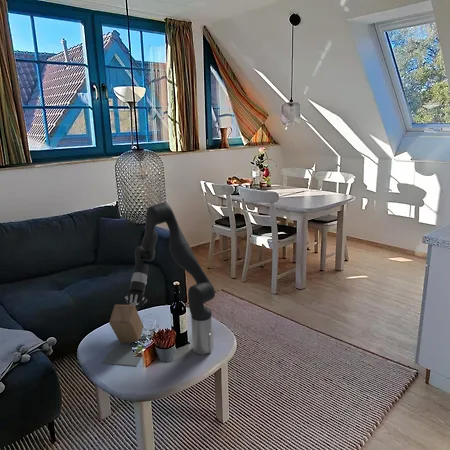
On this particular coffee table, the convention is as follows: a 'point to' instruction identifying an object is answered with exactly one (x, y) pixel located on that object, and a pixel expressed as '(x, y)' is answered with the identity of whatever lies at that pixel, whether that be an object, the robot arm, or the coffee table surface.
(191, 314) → the robot arm
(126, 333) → the wooden block
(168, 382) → the coffee table surface
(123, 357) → the slate mat
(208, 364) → the coffee table surface
